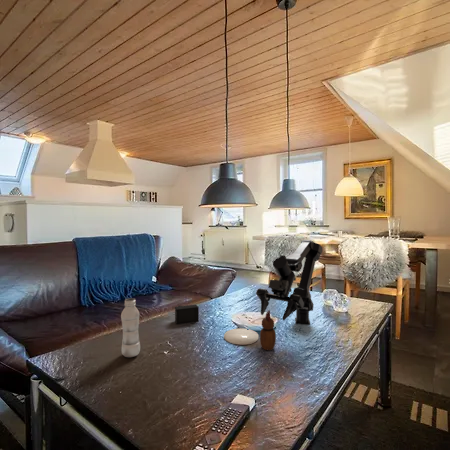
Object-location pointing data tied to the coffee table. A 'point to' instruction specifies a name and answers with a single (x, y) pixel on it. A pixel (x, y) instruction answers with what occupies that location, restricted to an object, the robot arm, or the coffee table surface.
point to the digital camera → (186, 314)
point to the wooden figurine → (267, 333)
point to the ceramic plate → (241, 336)
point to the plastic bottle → (130, 329)
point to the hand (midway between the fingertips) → (272, 317)
